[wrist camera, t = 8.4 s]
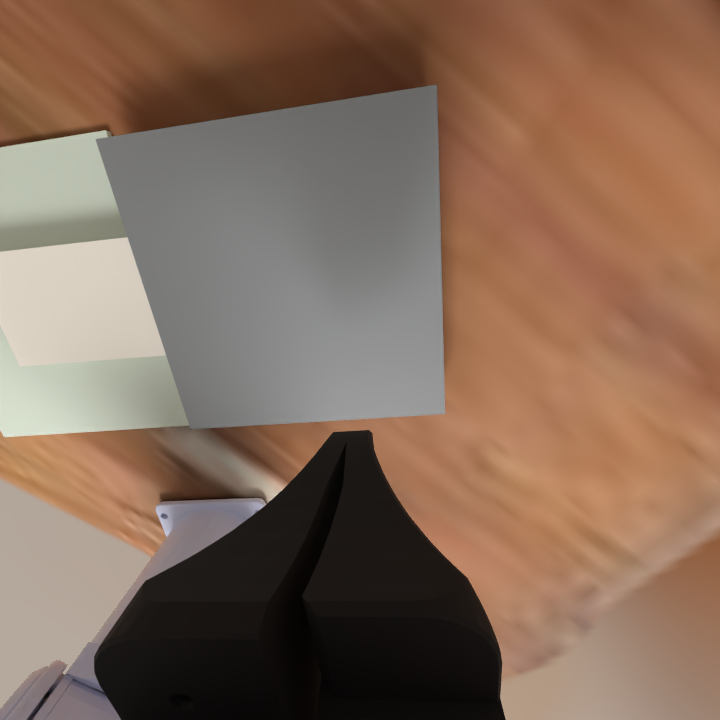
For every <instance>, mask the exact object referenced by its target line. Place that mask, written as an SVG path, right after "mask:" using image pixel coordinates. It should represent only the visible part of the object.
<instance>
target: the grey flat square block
mask: <svg viewBox="0 0 720 720" xmlns="http://www.w3.org/2000/svg"><path fill="white" fill-rule="evenodd" d="M95 140H96V143H97V146H98V149H99V152H100V155H101V158H102V161H103V164H104V167H105V170H106V173H107V176H108V179H109V182H110V185H111V188H112V192H113V195H114V198H115V201H116V204H117V207H118V210H119V213H120V216H121V219H122V222H123V225H124V228H125V231H126V234H127V237H128V240H129V243H130V246H131V249H132V253H133V256H134V259H135V262H136V265H137V268H138V271H139V274H140V277H141V280H142V283H143V286H144V289H145V292H146V295H147V298H148V301H149V304H150V307H151V310H152V314H153V317H154V320H155V323H156V326H157V329H158V332H159V335H160V338H161V341H162V344H163V347H164V350H165V353H166V356H167V359H168V362H169V365H170V368H171V371H172V375H173V378H174V381H175V384H176V387H177V390H178V393H179V396H180V399H181V402H182V405H183V408H184V411H185V414H186V417H187V420H188V423H189V426H190V429H205V428H222V427H238V426H254V425H271V424H287V423H304V422H320V421H336V420H353V419H369V418H386V417H402V416H419V415H435V414H445V390H444V349H443V309H442V268H441V227H440V186H439V146H438V105H437V85H430V86H424V87H418V88H412V89H405V90H399V91H393V92H387V93H380V94H374V95H368V96H362V97H355V98H349V99H343V100H337V101H330V102H324V103H318V104H312V105H305V106H299V107H293V108H287V109H281V110H274V111H268V112H262V113H256V114H249V115H243V116H237V117H231V118H224V119H218V120H212V121H206V122H199V123H193V124H187V125H181V126H174V127H168V128H162V129H156V130H149V131H143V132H137V133H131V134H124V135H118V136H112V137H106V138H99V139H95Z"/></svg>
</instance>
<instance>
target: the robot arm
mask: <svg viewBox="0 0 720 720" xmlns="http://www.w3.org/2000/svg"><path fill="white" fill-rule="evenodd" d="M258 510H259V511H258ZM156 512H157V514H158V517H159V519H160V522H161V524H162V527H163V529H164V532H165V534H166V537H167V538H166V539H165V540H164V542H163V543H162V544H161V546H160V547H159V549H158V550H157V551H156V553H155V554H154V556H153V557H152V558H151V560H150V561H149V563H148V564H147V565H146V567H145V568H144V570H143V571H142V572H141V574H140V575H139V576H138V578H137V579H136V581H135V582H134V583H133V585H132V586H131V588H130V589H129V590H128V592H127V593H126V595H125V596H124V597H123V599H122V600H121V601H120V603H119V604H118V606H117V607H116V608H115V610H114V611H113V613H112V614H111V615H110V617H109V618H108V619H107V621H106V622H105V624H104V625H103V627H102V628H101V629H100V631H99V632H98V633H97V635H96V636H95V637H94V639H93V640H92V642H89V643H88V644H87V645H86V647H85V648H84V649H83V651H82V652H81V654H80V655H79V656H78V658H77V659H76V660H75V662H74V663H73V665H72V666H71V667H70V669H69V670H68V671H67V673H66V674H65V675H64V674H62V672H63V671H64V670H65V668H66V667H67V664H65V663H64V662H62V661H60V660H56V661H54V662H53V663H52V664H51V665H50V666H49V667H48V666H46V667H43V668H41V669H39V670H37V671H34V672H33V673H32V674H31V675H30V676H29V677H28V678H27V679H26V680H25V681H24V682H23V683H22V684H21V686H20V687H19V688H18V689H17V690H16V691H15V692H14V694H13V695H12V696H11V697H10V698H9V700H8V701H7V702H6V703H5V704H4V705H3V707H2V708H1V709H0V720H505V716H504V712H503V708H502V704H501V700H500V690H501V673H502V659H501V652H500V648H499V645H498V642H497V639H496V636H495V634H494V631H493V629H492V626H491V624H490V621H489V619H488V617H487V615H486V612H485V610H484V608H483V606H482V604H481V602H480V600H479V598H478V597H477V595H476V593H475V591H474V589H473V587H472V585H471V584H470V582H469V580H468V578H467V577H466V576H465V575H464V574H462V573H461V572H460V571H459V570H458V569H457V568H456V567H455V566H454V565H453V564H452V563H451V562H450V561H449V560H448V559H447V558H446V557H445V556H444V555H443V554H442V553H441V552H440V551H439V550H438V549H437V548H436V547H435V546H434V545H433V544H432V543H431V542H430V541H429V539H428V538H427V537H426V536H425V535H424V533H423V532H422V531H421V530H420V529H419V527H418V526H417V525H416V524H415V522H414V521H413V520H412V519H411V517H410V516H409V515H408V513H407V512H406V510H405V509H404V508H403V506H402V505H401V503H400V502H399V500H398V499H397V497H396V495H395V494H394V492H393V490H392V489H391V487H390V485H389V483H388V481H387V479H386V477H385V475H384V473H383V471H382V469H381V467H380V464H379V462H378V459H377V457H376V454H375V451H374V445H373V436H372V433H371V432H370V431H369V430H364V431H347V432H333V433H332V434H331V435H330V437H329V438H328V439H327V440H326V442H325V443H324V444H323V445H322V447H321V448H320V449H319V450H318V452H317V453H316V454H315V455H314V457H313V458H312V459H311V460H310V461H309V462H308V464H307V465H306V466H305V467H304V468H303V469H302V470H301V472H300V473H299V474H298V475H297V476H296V477H295V478H294V479H293V480H292V481H291V482H290V483H289V484H288V485H287V486H286V487H285V488H284V489H283V490H282V491H281V492H280V493H279V494H278V495H277V496H276V497H274V498H273V499H272V500H271V501H270V502H269V503H267V504H266V503H265V501H264V500H263V499H261V498H241V499H215V500H188V501H163V502H160V503H159V504H158V505H157V506H156Z"/></svg>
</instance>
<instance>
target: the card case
mask: <svg viewBox="0 0 720 720" xmlns="http://www.w3.org/2000/svg"><path fill="white" fill-rule="evenodd" d="M0 326H1V328H2V330H3V332H4V334H5V336H6V338H7V341H8V343H9V345H10V347H11V349H12V351H13V353H14V355H15V357H16V359H17V361H18V363H19V365H20V366H33V365H47V364H60V363H73V362H86V361H99V360H112V359H126V358H139V357H152V356H165V355H166V353H165V350H164V347H163V344H162V341H161V338H160V335H159V332H158V329H157V326H156V323H155V320H154V317H153V314H152V310H151V307H150V304H149V301H148V298H147V295H146V292H145V289H144V286H143V283H142V280H141V277H140V274H139V271H138V268H137V265H136V262H135V259H134V256H133V253H132V249H131V246H130V243H129V240H128V237H125V238H116V239H107V240H99V241H90V242H81V243H72V244H64V245H55V246H46V247H38V248H29V249H20V250H11V251H3V252H0Z"/></svg>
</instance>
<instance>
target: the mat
mask: <svg viewBox="0 0 720 720" xmlns="http://www.w3.org/2000/svg"><path fill="white" fill-rule="evenodd" d="M106 137H112V135H111V132H109V131H106V130H104V131H98V132H92V133H86V134H80V135H74V136H67V137H61V138H55V139H49V140H43V141H37V142H30V143H24V144H18V145H12V146H6V147H0V252H3V251H11V250H20V249H29V248H38V247H46V246H55V245H64V244H72V243H81V242H90V241H99V240H107V239H116V238H125V237H127V234H126V231H125V228H124V225H123V222H122V219H121V216H120V213H119V210H118V207H117V204H116V201H115V198H114V195H113V192H112V188H111V185H110V182H109V179H108V176H107V173H106V170H105V167H104V164H103V161H102V158H101V155H100V152H99V149H98V146H97V143H96V140H95V139H99V138H106ZM175 426H189V423H188V420H187V417H186V414H185V411H184V408H183V405H182V402H181V399H180V396H179V393H178V390H177V387H176V384H175V381H174V378H173V375H172V371H171V368H170V365H169V362H168V359H167V356H166V355H165V356H152V357H139V358H126V359H112V360H99V361H86V362H73V363H60V364H47V365H33V366H20V365H19V363H18V361H17V359H16V357H15V355H14V353H13V351H12V349H11V347H10V345H9V343H8V341H7V338H6V336H5V334H4V332H3V330H2V328H1V326H0V430H1V432H2V434H3V436H4V437H14V436H30V435H46V434H62V433H78V432H95V431H111V430H127V429H143V428H159V427H175Z"/></svg>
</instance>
